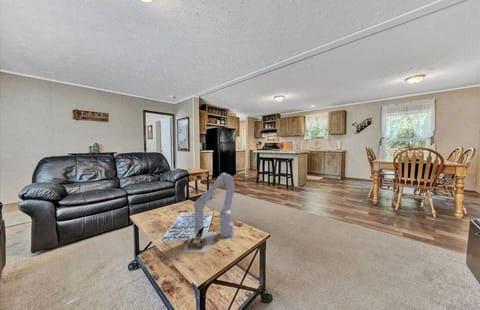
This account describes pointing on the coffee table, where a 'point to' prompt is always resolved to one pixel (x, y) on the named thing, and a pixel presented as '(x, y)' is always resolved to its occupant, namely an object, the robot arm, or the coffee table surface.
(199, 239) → the cart
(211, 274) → the coffee table surface
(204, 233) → the dock board
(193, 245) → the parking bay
